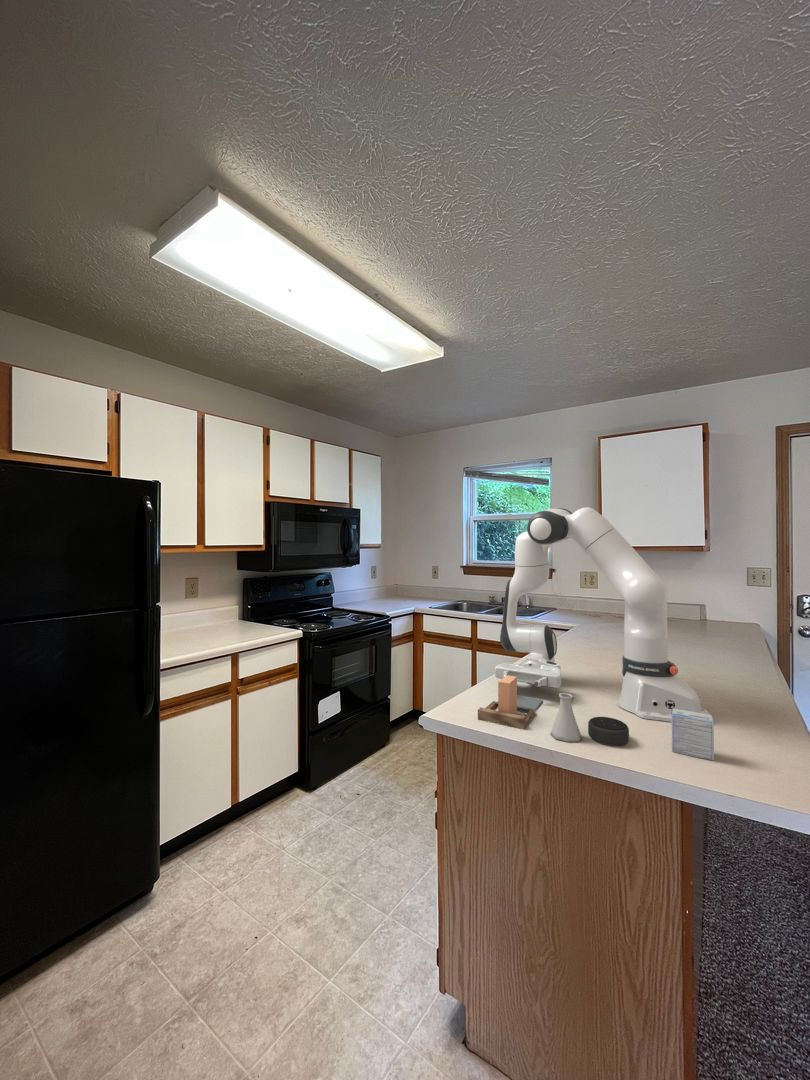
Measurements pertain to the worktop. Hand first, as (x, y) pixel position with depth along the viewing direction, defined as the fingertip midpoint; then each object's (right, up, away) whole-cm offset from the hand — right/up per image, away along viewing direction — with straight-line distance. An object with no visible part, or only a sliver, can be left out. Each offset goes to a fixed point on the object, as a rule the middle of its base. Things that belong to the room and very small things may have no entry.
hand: (521, 681), depth 130 cm
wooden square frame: (-7, -6, -11) cm, 14 cm away
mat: (-1, -6, -1) cm, 6 cm away
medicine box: (+30, -6, -32) cm, 44 cm away
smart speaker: (+14, -6, -25) cm, 29 cm away
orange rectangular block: (-7, -6, -11) cm, 14 cm away
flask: (+5, -6, -24) cm, 25 cm away
